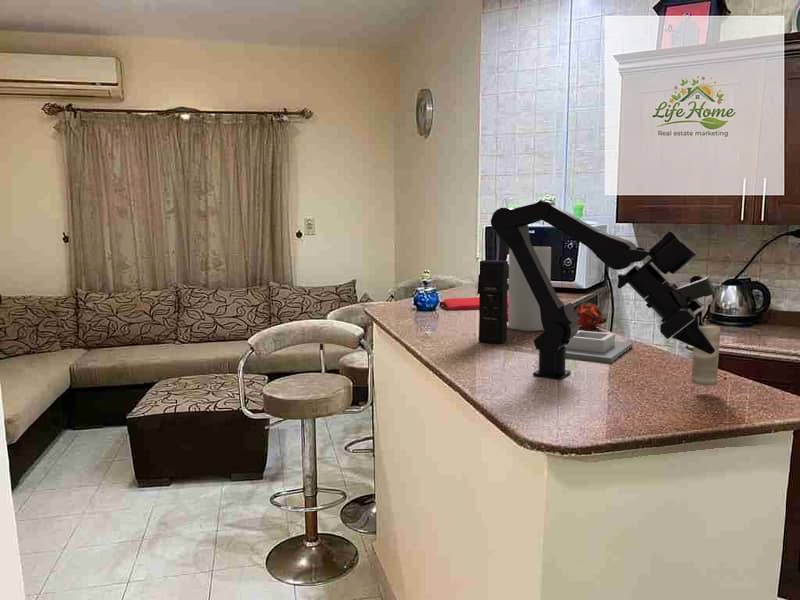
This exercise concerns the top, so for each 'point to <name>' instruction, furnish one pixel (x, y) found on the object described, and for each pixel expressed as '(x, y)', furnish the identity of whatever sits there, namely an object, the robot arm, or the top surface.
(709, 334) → the birch pin
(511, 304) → the cylinder vase
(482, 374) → the top surface
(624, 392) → the top surface
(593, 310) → the dragon fruit
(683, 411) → the top surface
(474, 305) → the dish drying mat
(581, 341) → the socket board
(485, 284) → the portable radio
